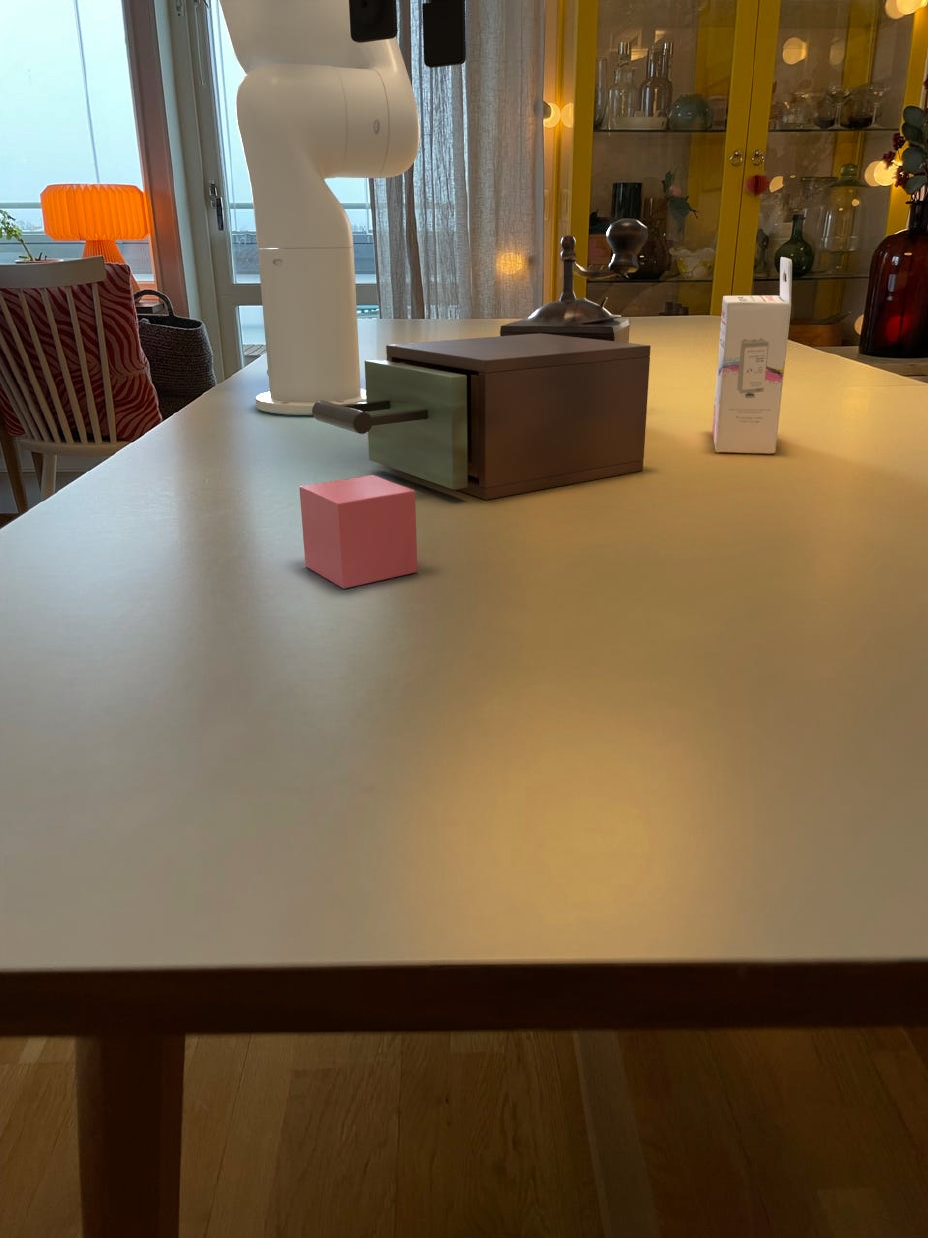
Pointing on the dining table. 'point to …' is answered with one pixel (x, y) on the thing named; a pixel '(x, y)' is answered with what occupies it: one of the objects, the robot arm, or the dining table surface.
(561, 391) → the cabinet
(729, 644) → the dining table surface
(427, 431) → the drawer
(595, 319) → the manual coffee grinder
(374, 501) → the block
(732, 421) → the ink cartridge box
